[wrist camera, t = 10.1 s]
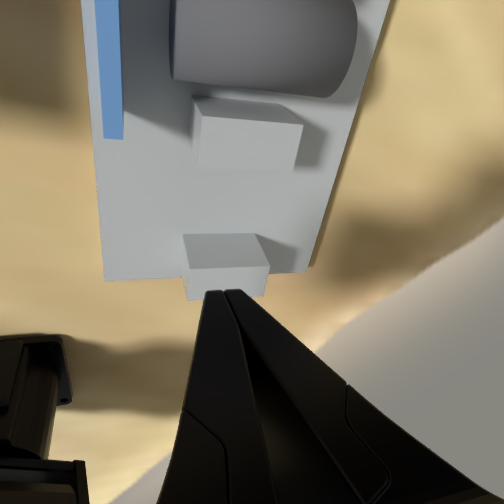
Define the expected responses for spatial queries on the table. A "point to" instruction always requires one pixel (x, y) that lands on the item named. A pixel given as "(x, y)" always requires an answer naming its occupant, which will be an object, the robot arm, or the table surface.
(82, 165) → the table surface
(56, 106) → the table surface
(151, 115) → the white base plate
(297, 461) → the robot arm
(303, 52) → the dark gray cylinder
